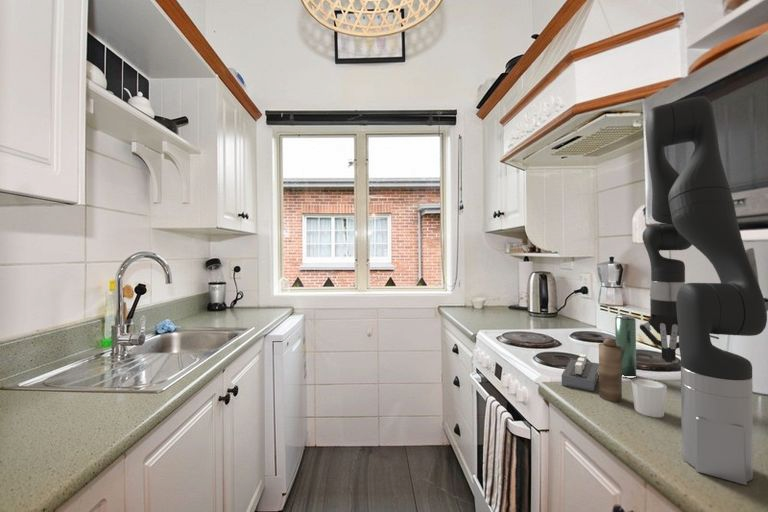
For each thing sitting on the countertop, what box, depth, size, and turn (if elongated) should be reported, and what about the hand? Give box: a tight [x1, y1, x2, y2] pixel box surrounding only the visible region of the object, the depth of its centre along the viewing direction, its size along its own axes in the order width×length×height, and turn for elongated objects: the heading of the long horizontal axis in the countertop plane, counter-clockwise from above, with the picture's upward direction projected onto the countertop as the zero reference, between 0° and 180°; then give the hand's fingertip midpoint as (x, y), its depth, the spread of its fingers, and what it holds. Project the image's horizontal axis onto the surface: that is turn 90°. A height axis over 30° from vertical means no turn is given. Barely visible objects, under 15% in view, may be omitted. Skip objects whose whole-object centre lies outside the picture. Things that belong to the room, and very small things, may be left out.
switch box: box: [561, 358, 599, 392], centre depth 103 cm, size 18×8×3 cm, turn 143°
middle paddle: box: [576, 357, 585, 370], centre depth 103 cm, size 3×2×3 cm, turn 143°
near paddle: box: [575, 362, 583, 374], centre depth 99 cm, size 3×2×3 cm, turn 143°
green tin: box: [614, 314, 637, 377], centre depth 105 cm, size 5×5×19 cm
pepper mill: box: [598, 337, 623, 403], centre depth 89 cm, size 5×5×16 cm
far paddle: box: [579, 353, 588, 365], centre depth 107 cm, size 3×2×3 cm, turn 143°
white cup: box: [630, 378, 668, 418], centre depth 81 cm, size 7×7×7 cm
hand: (668, 361), depth 90 cm, fingers closed
